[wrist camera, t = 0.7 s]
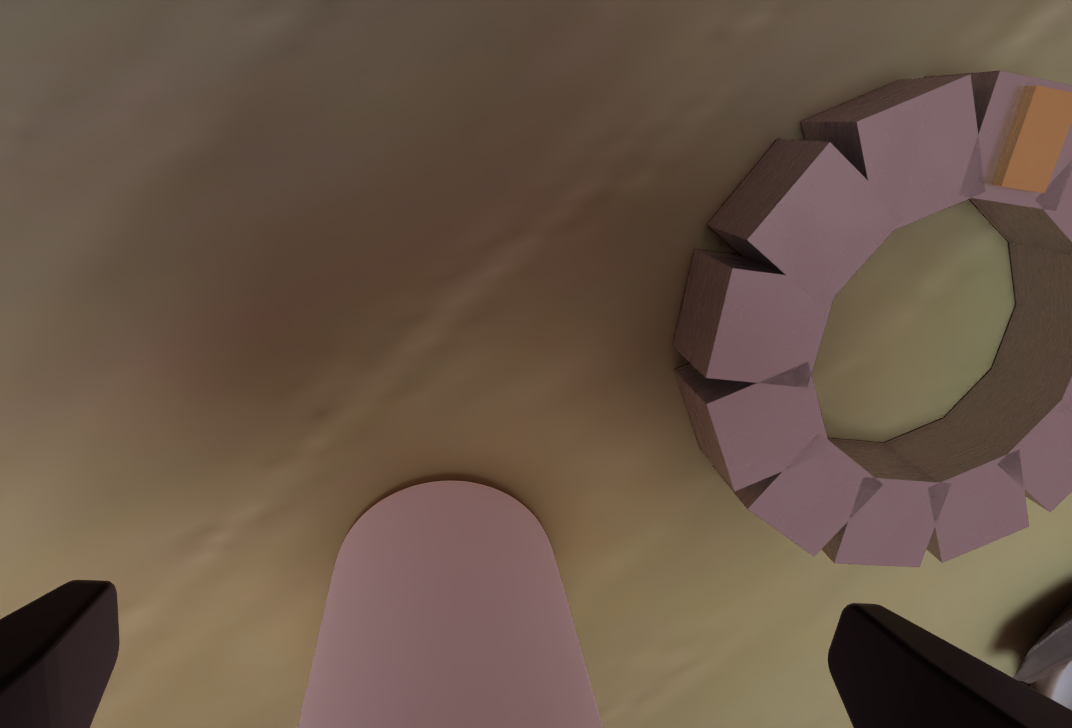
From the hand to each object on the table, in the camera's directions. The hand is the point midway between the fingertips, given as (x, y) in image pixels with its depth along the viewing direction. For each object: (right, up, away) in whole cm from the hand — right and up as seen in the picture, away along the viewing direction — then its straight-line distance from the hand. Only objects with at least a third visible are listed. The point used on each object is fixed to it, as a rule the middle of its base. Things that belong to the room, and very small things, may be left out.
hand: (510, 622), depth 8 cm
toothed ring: (+11, +4, +12) cm, 16 cm away
